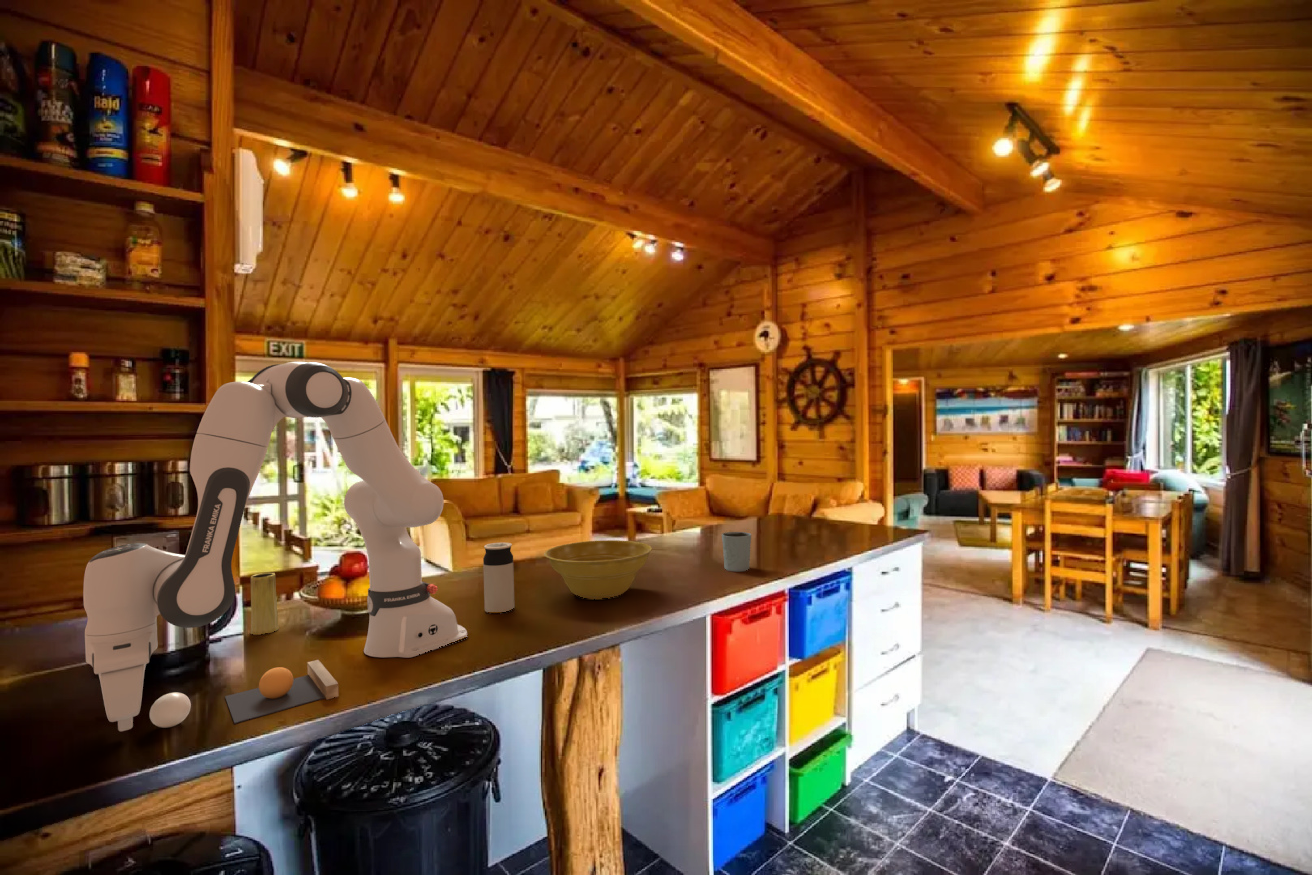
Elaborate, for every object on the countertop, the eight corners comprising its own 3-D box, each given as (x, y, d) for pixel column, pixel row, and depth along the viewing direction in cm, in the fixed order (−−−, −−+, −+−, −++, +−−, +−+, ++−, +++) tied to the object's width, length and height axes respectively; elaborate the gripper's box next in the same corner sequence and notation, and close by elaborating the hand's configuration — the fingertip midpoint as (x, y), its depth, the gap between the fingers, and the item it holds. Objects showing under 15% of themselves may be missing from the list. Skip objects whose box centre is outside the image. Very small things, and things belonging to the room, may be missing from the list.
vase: (269, 634, 148) (267, 577, 148) (244, 635, 148) (242, 578, 147) (284, 626, 154) (282, 571, 154) (260, 627, 154) (258, 572, 154)
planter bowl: (545, 583, 191) (544, 542, 191) (644, 577, 197) (643, 536, 197) (545, 614, 159) (543, 564, 159) (662, 605, 165) (661, 557, 165)
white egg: (144, 698, 102) (154, 727, 103) (145, 708, 98) (155, 738, 99) (184, 682, 106) (193, 710, 106) (186, 692, 101) (196, 721, 102)
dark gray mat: (308, 675, 122) (308, 674, 122) (325, 697, 112) (325, 696, 112) (225, 697, 113) (225, 696, 113) (234, 723, 102) (234, 722, 102)
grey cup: (719, 571, 203) (718, 536, 202) (725, 564, 212) (725, 530, 212) (749, 572, 199) (748, 537, 199) (754, 565, 209) (753, 531, 209)
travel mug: (499, 616, 159) (497, 548, 158) (478, 611, 163) (476, 546, 163) (520, 607, 166) (518, 543, 165) (500, 604, 170) (498, 541, 169)
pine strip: (318, 671, 124) (318, 659, 124) (338, 696, 112) (338, 683, 112) (307, 674, 123) (307, 662, 123) (326, 699, 111) (326, 686, 111)
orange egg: (268, 659, 114) (250, 688, 112) (273, 668, 110) (254, 698, 108) (296, 668, 117) (279, 696, 115) (302, 676, 113) (284, 706, 111)
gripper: (98, 633, 104) (101, 711, 104) (93, 667, 88) (97, 759, 89) (146, 624, 108) (149, 700, 108) (149, 655, 93) (152, 743, 93)
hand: (125, 727), depth 98 cm, fingers closed
